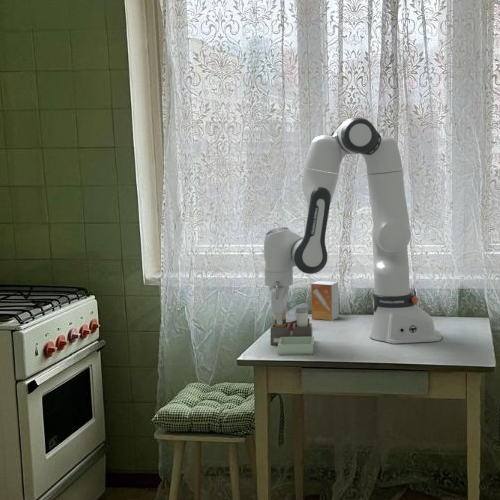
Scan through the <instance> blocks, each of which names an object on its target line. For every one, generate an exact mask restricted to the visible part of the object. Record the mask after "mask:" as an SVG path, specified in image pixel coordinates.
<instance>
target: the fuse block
mask: <svg viewBox="0 0 500 500" xmlns="http://www.w3.org/2000/svg"><path fill="white" fill-rule="evenodd" d="M269 329H270V337H269V338H270V340H269V341H270V346H278V343H279V340H280V337H313V324H312V323H310V322H309V323H308V327H297V323H294V324H293V331H290V324H286V327H275V324H274V323H271V325H270V328H269Z"/></svg>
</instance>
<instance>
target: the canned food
mask: <svg viewBox="0 0 500 500" xmlns="http://www.w3.org/2000/svg"><path fill="white" fill-rule="evenodd" d="M298 307H306V308H308V303H306V302H303V303H300V304H298V305H296V306H294V307H292V308H291V309H289V310H288V311H286V324H290V331H293V324H294V323H297V320H296V308H298ZM308 323H310V318H309V317H308Z"/></svg>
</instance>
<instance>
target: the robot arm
mask: <svg viewBox="0 0 500 500" xmlns="http://www.w3.org/2000/svg"><path fill="white" fill-rule="evenodd" d="M308 148H309V149H308V151H307V153H306V157H305V162H304V165H303V170H302V171H303V172H302V180H301V181H302V183H301V184H302V185H301V188H302V191H303V195H304V197H305V199H306V204H307V215H306V222H305V226H304V227H305V228H304V233H303V235H302V234H300V233H297V232H296V231H293V230H291V229H290V228H289V227H285V226H284V227H277V228H272V229H270V230H269V231H267V232H266V234H265V236H264V240H263V243H264V244H263V258H264V260H265V266H264V285H265V286H267V287H269V288H268V290H269V291H270V292H271V295H270V296H271V298H270V300H271V301H270V302H271V303H270V304H271V314H273V315H274V314H276V319H277V324H282V323H283V319H282V314H283V312H284V309H285V308H286V306H287V302H288V299H289V298H288V297H289V290H290V286H292V285H293V284H294V276H293V274H294V273H293V271H294V270H293V268H294V267H296V268H297V269H298V270H299V271H300V272H302V273H305V274H308V275H313V274H317V273H319V272H320V271H322V270H323V269H324V268H325V266H326V264H327V263H328V252H327V247H326V234H327V233H326V232H327V226H328V221H329V212H330V207H331V203H332V200H333V197H334V193H335V190H336V187H337V183H338V179H339V176H340V175H339V173H340V169H341V168H340V167H341V164H342V161H343V159H344V157H345V156H347V155H350V154H351V155H358V154H360V155H361V156H362V157H363V158H364V161H365V164H366V174H367V175H366V176H367V177H366V178H367V185H368V193H369V195H368V197H369V202H370V209H371V217H372V224H373V226H372V230H371V231H372V232H371V233H372V235H371V237H372V255H373V258H372V259H373V275H374V276H373V277H374V279H373V283H374V287H373V288H374V290H373V293H372V311H373V319H372V327H371V332H370V335H369V338H371V339H373V340H375V341H379V342H386V343H389V344H395V345H396V344H411V343H426V342H428V343H429V342H439V341H441V340H442V339H443V337H442V336H443V335H442V332H441V331H439V330H438V329H436V328H435V323H434V321H433V317H432V316H431V315H430V314H429V313H428V312H426V311H425V310H423V309H422V308H421V307H419V306H418V305H417V304H418V302H419V298H418V296H416V295H414V293H411V292H410V266H409V264H410V263H409V253H408V245H409V244H410V242H411V239H412V238H411V237H412V233H411V225H410V218H409V217H410V216H409V210H408V205H407V199H406V190H405V189H406V188H405V180H404V172H403V162H402V159H401V153H400V149H399V146H398V143H397V141H396V140H395V139H394V138H392V137H389V136H386V135H385V136H382V135H380V133H379V132H378V130H377V129H376V127H375V126H374V124H373V123H372V122H371V121H369V120H368V119H366V118H364V117H351V118H348V119H345V120H344V121H343V122H341V123H340V124H339V125H338V126H337V127H336V128H335V129H334V131H332V133H331V134H330V135H327V134H326V135H325V134H322V135H318V136H316V137H315V138H313V139H312V141H311V143H310V145H309V147H308Z"/></svg>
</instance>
